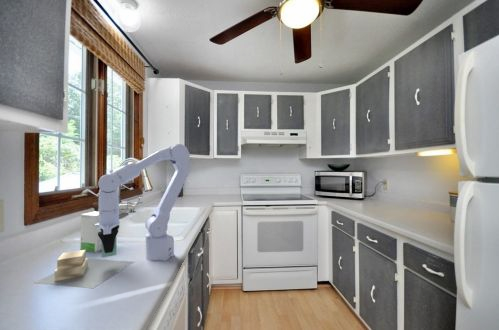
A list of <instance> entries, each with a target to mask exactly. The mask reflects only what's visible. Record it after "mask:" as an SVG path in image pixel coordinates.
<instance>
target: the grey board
mask: <svg viewBox="0 0 499 330" xmlns="http://www.w3.org/2000/svg"><path fill="white" fill-rule="evenodd" d="M133 263H135V261H130V260H129V261H127V260H116V259H115V260H113V259H100V258H99V259H97V258H88V267H87V270H86V272H85V274H84V276H79V277H74V278H69V279H64V280H59V281H55V272H54V273H51V274H49V275H48V276H46V277H43V278H40V279H39V280H37V281H34V282H33V283H34V284H43V285H51V286H52V285H53V286H62V287H63V286H64V287H74V288H86V289H95V288H96V287H99V285H101V284H103V283H104V282H106V281H108V280H109V279H110V278H112V277H113V276H115V275H117V274H119V273H120V272H121V271H123V270H124V269H126V268H127V267H129V266H131V265H132V264H133Z"/></svg>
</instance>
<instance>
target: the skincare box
mask: <svg viewBox="0 0 499 330" xmlns="http://www.w3.org/2000/svg"><path fill="white" fill-rule="evenodd" d="M97 223H99V212H96V211H95V210H94V211H89V212H85V213H81V214H80V239H79V240H80V241H79V243H80V244H79V245H80V247H79V251H80V250H86V252H92V253H94V252H95V253H97V252H99V251H102V241H101V239H100V237H99V236H98V232H101V230H100V229H101V228H100V227H95V224H97Z"/></svg>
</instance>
